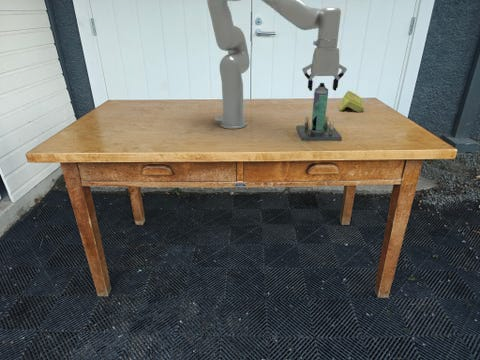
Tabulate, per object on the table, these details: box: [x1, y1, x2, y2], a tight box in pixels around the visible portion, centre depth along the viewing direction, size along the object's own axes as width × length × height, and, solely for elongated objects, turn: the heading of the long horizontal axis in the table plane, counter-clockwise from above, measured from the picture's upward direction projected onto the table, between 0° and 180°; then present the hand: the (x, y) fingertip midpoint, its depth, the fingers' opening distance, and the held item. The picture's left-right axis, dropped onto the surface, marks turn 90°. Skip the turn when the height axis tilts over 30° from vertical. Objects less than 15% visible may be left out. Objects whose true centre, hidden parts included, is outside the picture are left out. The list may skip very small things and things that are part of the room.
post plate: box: [296, 115, 343, 142], centre depth 136 cm, size 16×16×6 cm
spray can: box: [311, 82, 329, 133], centre depth 133 cm, size 6×6×20 cm
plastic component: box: [338, 90, 364, 113], centre depth 176 cm, size 20×7×10 cm
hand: (322, 90), depth 129 cm, fingers open, 9 cm apart
